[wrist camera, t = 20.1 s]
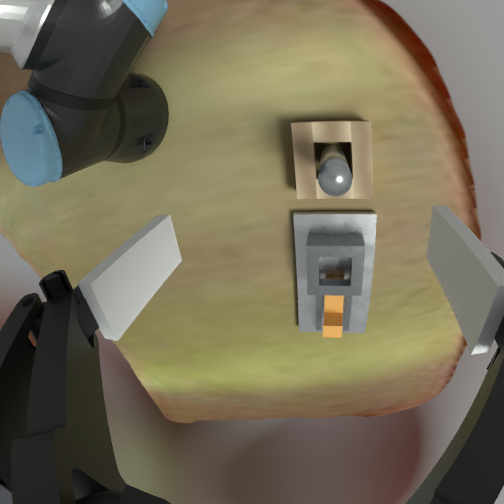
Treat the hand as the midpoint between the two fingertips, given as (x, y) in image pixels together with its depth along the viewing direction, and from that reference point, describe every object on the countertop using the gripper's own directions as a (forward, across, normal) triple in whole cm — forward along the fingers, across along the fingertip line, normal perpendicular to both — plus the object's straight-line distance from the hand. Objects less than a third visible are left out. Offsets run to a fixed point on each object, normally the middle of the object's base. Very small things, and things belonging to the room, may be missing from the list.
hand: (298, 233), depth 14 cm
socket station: (+28, +2, -19) cm, 34 cm away
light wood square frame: (+28, +2, -1) cm, 28 cm away
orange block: (+26, +2, -23) cm, 35 cm away
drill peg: (+28, +2, -1) cm, 28 cm away
